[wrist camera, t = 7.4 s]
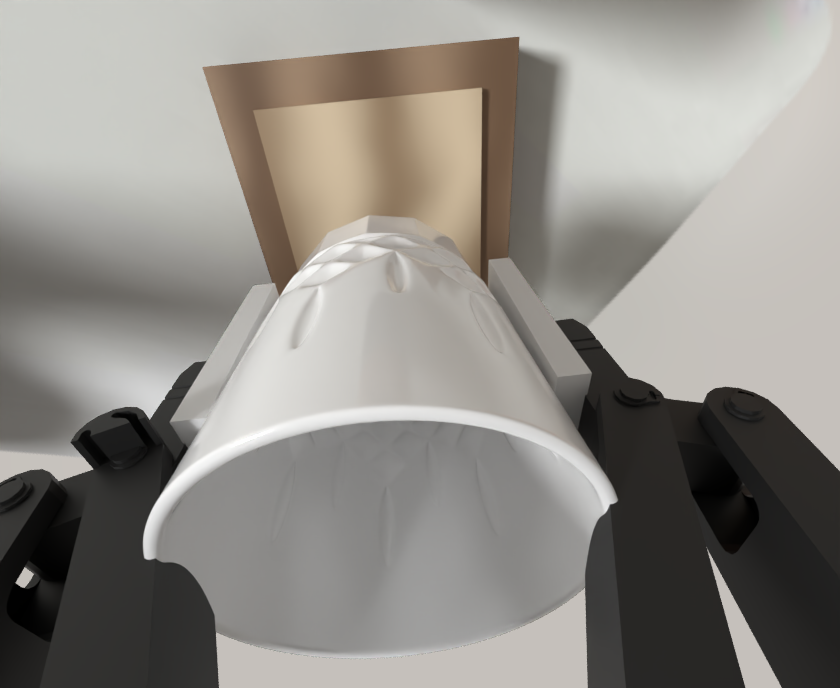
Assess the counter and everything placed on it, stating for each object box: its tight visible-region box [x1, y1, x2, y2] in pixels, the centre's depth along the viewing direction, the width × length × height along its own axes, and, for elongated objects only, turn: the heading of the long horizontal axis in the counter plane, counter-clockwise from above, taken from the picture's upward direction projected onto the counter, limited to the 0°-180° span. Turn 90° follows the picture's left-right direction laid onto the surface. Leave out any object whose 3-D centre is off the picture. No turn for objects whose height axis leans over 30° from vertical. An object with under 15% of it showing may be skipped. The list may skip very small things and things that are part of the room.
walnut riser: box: [203, 37, 519, 297], centre depth 26 cm, size 16×16×4 cm
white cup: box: [143, 215, 618, 659], centre depth 11 cm, size 8×8×10 cm
